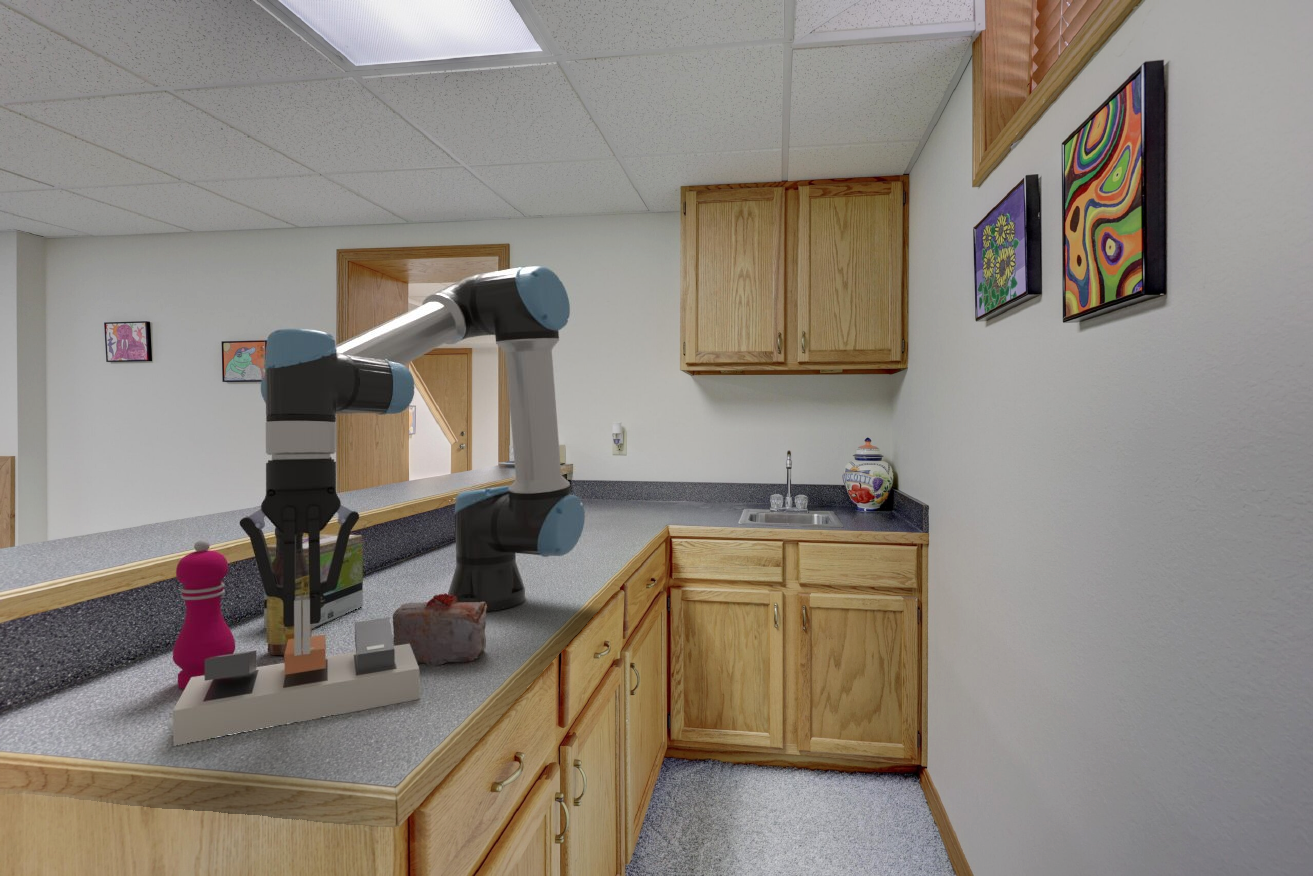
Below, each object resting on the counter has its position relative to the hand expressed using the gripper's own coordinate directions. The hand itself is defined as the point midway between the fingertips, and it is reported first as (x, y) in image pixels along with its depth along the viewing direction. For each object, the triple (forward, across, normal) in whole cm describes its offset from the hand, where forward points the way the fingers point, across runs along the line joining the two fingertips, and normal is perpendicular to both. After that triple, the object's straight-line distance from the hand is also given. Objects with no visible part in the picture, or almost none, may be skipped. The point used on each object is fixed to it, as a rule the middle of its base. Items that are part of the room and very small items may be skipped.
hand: (302, 651), depth 78 cm
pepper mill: (+8, +13, -21) cm, 25 cm away
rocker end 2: (+3, -8, -5) cm, 10 cm away
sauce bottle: (+7, +2, -30) cm, 31 cm away
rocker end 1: (+3, +8, -5) cm, 9 cm away
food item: (+8, -18, -14) cm, 24 cm away
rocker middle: (+3, 0, -5) cm, 6 cm away
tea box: (+7, -1, -48) cm, 49 cm away
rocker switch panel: (+8, 0, -5) cm, 9 cm away
